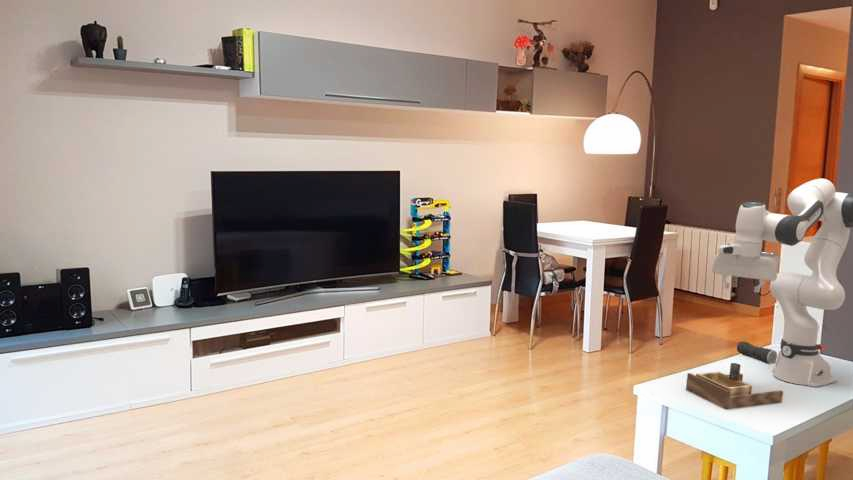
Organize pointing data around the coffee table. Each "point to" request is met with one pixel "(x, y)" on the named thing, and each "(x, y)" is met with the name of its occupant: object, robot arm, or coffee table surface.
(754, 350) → the flashlight
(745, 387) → the crate
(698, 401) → the coffee table surface
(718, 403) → the bay
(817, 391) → the coffee table surface
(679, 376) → the coffee table surface
